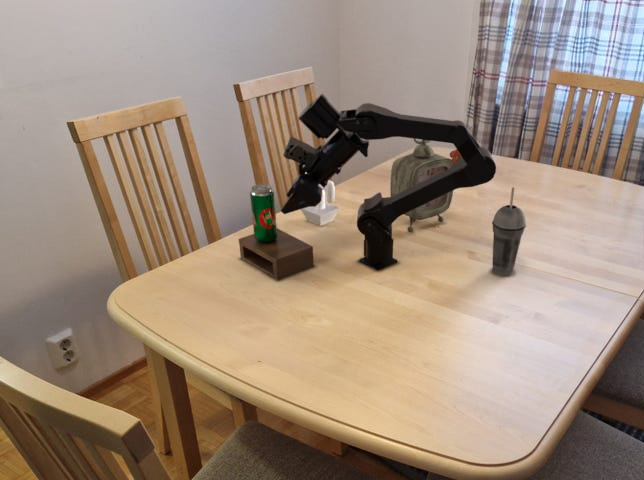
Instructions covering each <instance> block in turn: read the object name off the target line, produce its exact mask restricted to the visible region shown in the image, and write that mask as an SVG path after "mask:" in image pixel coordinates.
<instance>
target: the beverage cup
mask: <svg viewBox="0 0 644 480" xmlns="http://www.w3.org/2000/svg"><path fill="white" fill-rule="evenodd" d="M514 194H515V187H511V193H510V202H509V204H506V205H503V206H502V207H500V208H499V209H498V210H497V211H496V212H495V214H494V216H493V219H492V222H491V223H492V233H493V234H492V237H493V238H492V264H491V265H492V273H493V274H495V275H497V276H500V277H508V276H511V275H513V271H514V268H515V266H516V265H515V264H516V261H517V256H518V252H519V249H520V244H521V240H522V236H523V235H524V232H525V228H526V225H527V224H526V216H525V213H524V211H523V210H522V209H521V208H520V207H518V206H517V205H515V204H513V203H514Z"/></svg>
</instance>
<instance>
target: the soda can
mask: <svg viewBox="0 0 644 480" xmlns="http://www.w3.org/2000/svg"><path fill="white" fill-rule="evenodd" d="M249 197H250V199H249V200H250V208H251V218H252V226H253V227H252V228H253V234H254V238H255V239H256V240H257V241H258V242H260V243H271V242H274V241H275V240H276V239H277V228H278V227H277V225H278V224H277V214H276V202H275V201H276V199H275V191H274V190H273V186H271V185H270V184H265V183H259V184H254V185H252V186H251V188H250V192H249Z"/></svg>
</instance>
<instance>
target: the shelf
mask: <svg viewBox="0 0 644 480" xmlns="http://www.w3.org/2000/svg"><path fill="white" fill-rule="evenodd" d="M238 244H239V245H238V246H239V252H240V254H239V255H240V260H242V261H244V262H245V263H247V264H248V265H250V266H253V267H254V268H255V269H257V270H259V271H261V272H262V273H264V274H266V275H267V276H269V277H270V278H272V279H274V280H276V281H281V280H282V279H285V278H289V277H291V276H294V275H296V274H299V273H301V272H304V271H306V270H309V269H311V268H314V267H315V263H314V246H313V245H311V244H309V243H307V242H305V241H303V240H301V239H299V238H297V237H296V236H293V235H291V234H289V233H287V232H285V231H283V230H282V229H280V228H278V227H277V239H276V240H275V241H274V242H271V243H260V242H258V241H257V240H256V239H255V238H254V233H252V234H249V235H247V236H243V237H240V238H238Z"/></svg>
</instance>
